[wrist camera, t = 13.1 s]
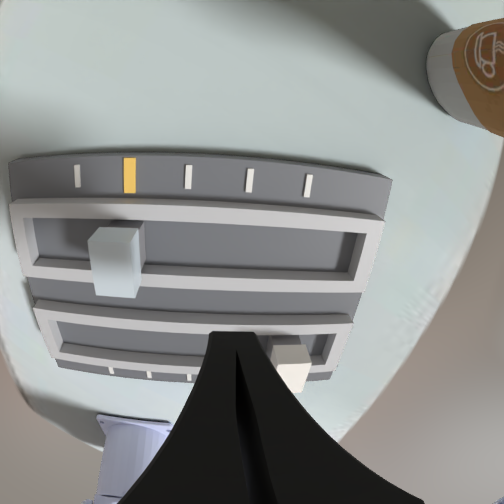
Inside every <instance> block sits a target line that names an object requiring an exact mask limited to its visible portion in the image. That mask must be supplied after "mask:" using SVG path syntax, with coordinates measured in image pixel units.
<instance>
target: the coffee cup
mask: <svg viewBox="0 0 504 504" xmlns="http://www.w3.org/2000/svg"><path fill="white" fill-rule="evenodd" d="M427 75H428V81H429V84H430V87H431V89H432V92H433V94H434V96H435V98H436V99H437V101H438V103H439V104H440V105H441V106H442V107H443V108H444V110H446V111H447V112H448V113H449V115H451V116H452V117H453V118H455V119H456V120H458V121H461V122H464V123H467V124H470V125H473V126H476V127H479V128H483V129H486V130H488V131H490V132H491V133H494V134H496V135H499V136H501V137H504V18H501V19H496V20H491V21H486V22H482V23H477V24H473V25H471V26H469V27H466V28H462V29H458V30H454V31H450V32H446V33H443V34H441V35H440V36H439V37H437V38H436V40H435V41H434V43H433V44H432V46H431V47H430V49H429V52H428V56H427Z"/></svg>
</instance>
